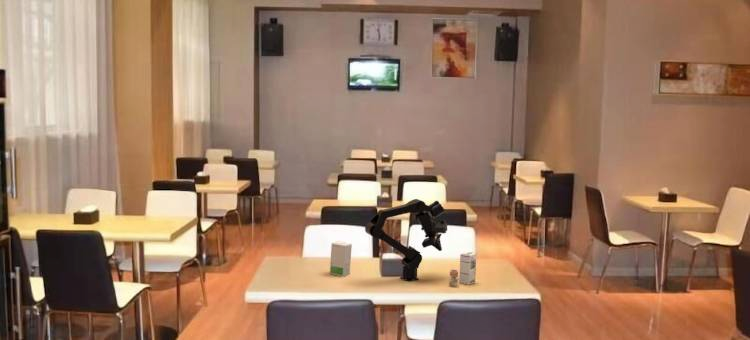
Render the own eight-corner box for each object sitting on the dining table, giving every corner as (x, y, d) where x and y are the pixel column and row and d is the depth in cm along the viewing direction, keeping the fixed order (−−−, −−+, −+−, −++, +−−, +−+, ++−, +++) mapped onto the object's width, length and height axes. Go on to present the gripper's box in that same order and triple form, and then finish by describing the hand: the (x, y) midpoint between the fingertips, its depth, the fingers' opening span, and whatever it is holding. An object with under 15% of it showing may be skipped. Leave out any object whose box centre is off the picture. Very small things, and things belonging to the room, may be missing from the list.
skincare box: (329, 274, 339) (330, 243, 337) (336, 271, 345) (337, 240, 343) (344, 277, 335) (345, 245, 333) (351, 274, 341) (352, 242, 339)
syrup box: (469, 285, 329) (471, 255, 328) (458, 282, 333) (460, 253, 331) (475, 282, 334) (476, 253, 332) (464, 280, 337) (465, 251, 336)
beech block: (449, 286, 325) (449, 278, 325) (449, 284, 329) (449, 275, 329) (457, 287, 325) (458, 278, 324) (457, 285, 329) (458, 276, 328)
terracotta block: (449, 279, 338) (450, 271, 338) (449, 277, 342) (450, 269, 341) (457, 280, 338) (458, 271, 337) (457, 278, 341) (458, 269, 341)
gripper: (435, 226, 323) (450, 254, 326) (446, 209, 339) (460, 237, 342) (415, 233, 328) (429, 261, 331) (426, 216, 345) (440, 243, 347)
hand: (440, 250), depth 338 cm, fingers closed
